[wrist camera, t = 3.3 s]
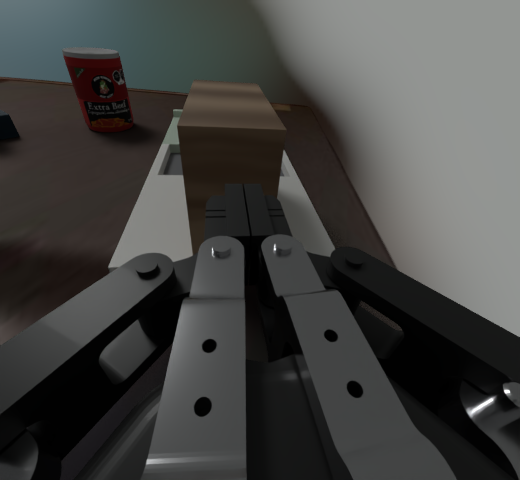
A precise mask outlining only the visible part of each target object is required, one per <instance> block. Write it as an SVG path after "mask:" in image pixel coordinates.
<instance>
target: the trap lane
mask: <svg viewBox="0 0 520 480" xmlns="http://www.w3.org/2000/svg"><path fill="white" fill-rule="evenodd" d="M182 111H183V110H173V113H174V118H173V120H172V122H171V125H170V127H169V129H168V132H167V134H166V136H165V138H164V141H163V143H162V145H161V148H160V150H159V152H158V154H157V157H156V159H155V161H154V164H153V166H152V168H151V170H150V173H149V175H148V177H147V180H146V182H145V184H144V186H143V189H142V191H141V193H140V196H139V198H138V200H137V203H136V205H135V207H134V209H133V212H132V214H131V216H130V219H129V221H128V223H127V225H126V228H125V230H124V232H123V235H122V237H121V239H120V241H119V244H118V246H117V248H116V251H115V253H114V255H113V257H112V260H111V262H110V264H109V267H108V269H109V271H110V273H111V272H113V271H114V270H116V269H117V268H119V267H120V266H122V265H123V264H125V263H126V262H128V261H129V260H131V259H132V258H134V257H136V256H139V255H142V254H146V253H161V254H164V255H167V256H168V257H169V258H170V259H171V260H172V261H173V262H175V261H179V260H182V259H186V258H188V257H191V256H193V253H192V245H191V236H190V228H189V220H188V212H187V204H186V195H185V187H184V179H183V171H182V163H181V155H180V146H179V138H178V130H177V124H178V121H179V119H180V116H181V113H182ZM277 199H278V200H279V201H280V203H281V206H282V208H283V211H284V214H285V217H286V220H287V222H288V225H289V228H290V231H291V234H292V236H293V237H294V238H296V239H297V240H299V241H300V242H301V243H302V245H303V246H304V248H305V250H306V251H308V252H310V253H314V254H318V255H323V256H328V257H330V256H331V253H332V252H333V251H334V250H335V248H334V246H333V244H332V242H331V240H330V238H329V236H328V234H327V232H326V230H325V228H324V226H323V224H322V222H321V221H320V219H319V217H318V215H317V213H316V211H315V209H314V207H313V205H312V203H311V201H310V199H309V197H308V195H307V193H306V192H305V190H304V188H303V186H302V184H301V182H300V180H299V178H298V176H297V174H296V172H295V170H294V168H293V166H292V165H291V163H290V161H289V159H288V157H287V155H286V153H285V151H283V158H282V165H281V173H280V180H279V188H278V195H277Z"/></svg>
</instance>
